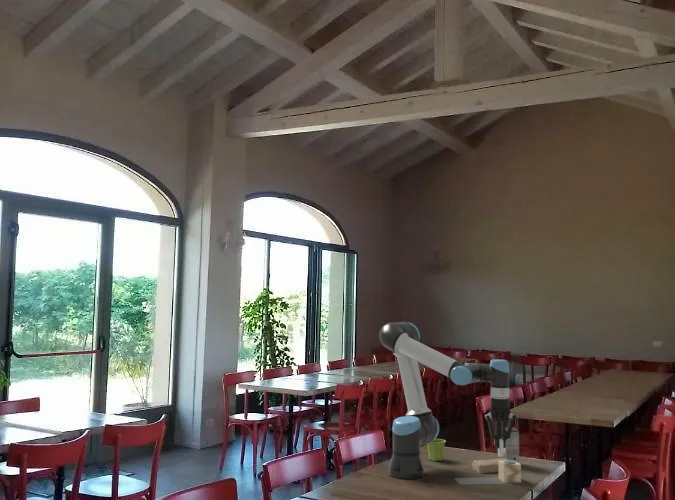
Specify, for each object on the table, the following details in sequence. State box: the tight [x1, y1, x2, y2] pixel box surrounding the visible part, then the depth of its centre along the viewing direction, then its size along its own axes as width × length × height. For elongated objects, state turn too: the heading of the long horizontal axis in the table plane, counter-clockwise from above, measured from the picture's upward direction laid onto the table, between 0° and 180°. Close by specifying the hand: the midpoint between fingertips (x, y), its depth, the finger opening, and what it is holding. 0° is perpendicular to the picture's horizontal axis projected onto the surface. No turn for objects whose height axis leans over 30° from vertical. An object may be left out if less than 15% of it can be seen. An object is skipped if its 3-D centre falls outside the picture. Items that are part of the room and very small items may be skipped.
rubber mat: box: [453, 476, 523, 486], centre depth 284 cm, size 26×10×1 cm, turn 96°
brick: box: [471, 457, 511, 474], centre depth 302 cm, size 17×8×5 cm, turn 105°
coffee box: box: [501, 426, 520, 464], centre depth 313 cm, size 9×6×16 cm
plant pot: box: [426, 438, 447, 462], centre depth 323 cm, size 9×9×9 cm
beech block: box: [498, 461, 522, 482], centre depth 285 cm, size 7×7×7 cm
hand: (500, 456), depth 285 cm, fingers closed
